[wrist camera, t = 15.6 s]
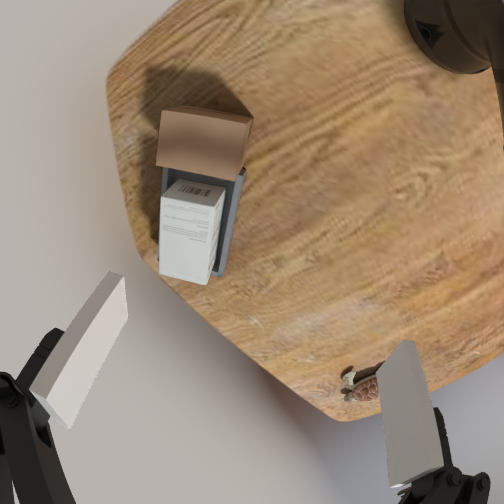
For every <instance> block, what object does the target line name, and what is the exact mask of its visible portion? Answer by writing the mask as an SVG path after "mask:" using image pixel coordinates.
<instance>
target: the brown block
mask: <svg viewBox="0 0 504 504" xmlns="http://www.w3.org/2000/svg"><path fill="white" fill-rule="evenodd" d="M253 119H254V117H250V116H245V115H240V114H235V113H230V112H224V111H219V110H213V109H207V108H201V107H194V106H187V105H180V106H176V107H172V108H168V109H165V110H162V114H161V121H160V129H159V138H158V147H157V157H156V166H161V167H167V168H172V169H177V170H182V171H187V172H192V173H197V174H202V175H207V176H212V177H216V178H221V179H225V180H230V181H234V182H235V180H236V178H237V176H238V174H239V172H240V171H241V169H242V167H243V165H244V160H245V155H246V151H247V146H248V142H249V137H250V132H251V128H252V123H253Z"/></svg>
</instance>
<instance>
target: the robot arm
mask: <svg viewBox="0 0 504 504" xmlns="http://www.w3.org/2000/svg"><path fill="white" fill-rule="evenodd" d="M404 13H405V19H406V22H407V26H408V28H409V31H410V33H411V35H412V37H413V38H414V40H415V42H416V43H417V45H418V46H419V47H420V49H421V50H422V51H423V52H424V53H425V54H426V55H427V56H428V57H429V58H430V59H431V60H432V61H433V62H435V63H436V64H437V65H439V66H440V67H442V68H444V69H446V70H448V71H451V72H454V73H458V74H478V73H481V72H483V71H485V70H487V69H488V68H489V67H490V66H491V67H492V70H493V74H494V79H495V84H496V89H497V94H498V100H499V105H500V112H501V119H502V127H503V136H504V0H405V3H404ZM503 150H504V146H503ZM127 319H128V312H127V304H126V294H125V284H124V276H123V275H119V274H116V273H113V272H108V274H107V275H106V276H105V278H104V279H103V280H102V281H101V283H100V284H99V285H98V287H97V288H96V289H95V291H94V292H93V293H92V295H91V296H90V298H89V299H88V300H87V301H86V303H85V304H84V306H83V307H82V308H81V310H80V311H79V312H78V314H77V315H76V317H75V318H74V320H73V321H72V323H71V324H70V325H69V327H68V328H67V330H66V331H65V332H64V331H62V330H60V329H58V328H54V329H53V330H51V331H50V332H49V333H47V334H46V335H45V336H44V338H43V339H42V341H41V342H40V344H39V346H38V347H37V348H36V350H35V351H34V353H33V354H32V355H31V357H30V359H29V360H28V362H27V363H26V365H25V366H24V368H23V369H22V371H21V373H20V374H19V376H18V377H17V379H16V380H14V378H13V377H12V376H11V375H10V374H8V373H6V372H0V504H15V503H14V494H13V485H12V481H13V484H14V487H15V491H16V494H17V497H18V500H19V503H20V504H76V502H75V500H74V498H73V495H72V493H71V491H70V488H69V486H68V483H67V480H66V478H65V475H64V472H63V469H62V466H61V463H60V461H59V457H58V454H57V451H56V448H55V445H54V441H53V438H52V434H51V430H50V426H49V423H48V420H49V418H50V416H51V417H52V418H53V420H54V421H55V422H57V423H59V424H61V425H62V426H64V427H66V428H68V429H71V427H72V425H73V423H74V420H75V418H76V416H77V414H78V412H79V410H80V408H81V405H82V404H83V402H84V399H85V398H86V396H87V393H88V391H89V389H90V387H91V385H92V383H93V382H94V380H95V378H96V376H97V374H98V372H99V370H100V368H101V366H102V364H103V362H104V360H105V359H106V357H107V355H108V353H109V351H110V349H111V347H112V346H113V344H114V342H115V340H116V338H117V337H118V335H119V333H120V331H121V329H122V328H123V326H124V324H125V322H126V321H127ZM376 377H377V383H378V389H379V396H380V402H381V409H382V417H383V425H384V433H385V443H386V453H387V465H388V479H389V488H392V487H400V486H404V485H406V484H409V483H411V485H412V486H411V487H408V488H406V489H404V490H402V491H400V492H399V493H398V494H397V495H401V494H403V493H405V494H404V495H403V496H401V498H402V499H401V501H400V502H399V503H398V504H487V501H488V496H489V491H490V478H489V476H488V474H486V473H485V472H481V473H479V474H477V475H475V476H469V475H464V474H462V472H461V471H460V470H459V469H458V468H456V467H454V466H453V464H452V460H451V453H450V448H449V443H448V438H447V436H446V434H447V432H446V429H445V423H444V419H443V416H442V414H441V412H440V411H439V409H438V407H436V408H433V406H432V401H431V397H430V393H429V390H428V386H427V382H426V378H425V375H424V371H423V368H422V364H421V361H420V357H419V354H418V351H417V348H416V345H415V341H408V340H402V341H401V342H400V344H399V345H398V346H397V347H396V349H395V350H394V351H393V352H392V354H391V355H390V356H389V357H388V358H387V360H386V361H385V362H384V363H383V364H382V366H381V367H380V368H379V369H378V370H377V372H376Z"/></svg>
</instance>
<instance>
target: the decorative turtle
mask: <svg viewBox="0 0 504 504" xmlns="http://www.w3.org/2000/svg"><path fill="white" fill-rule="evenodd" d="M355 374H356V372H355V371H350V372H349V373H347V374H345V375H344V376H343V378H342V382H343V385H344V386H345V387H346V388H348V389H350V390H352V392H349V393H347V394H346V395H345V396H344V401H345V402H352V401H354V400H357V401H370V400H372V399H377V398H380V396H379V389H378V383H377V377H376V374H375V375H371V376H369V377H366V378H364V379H362V380H360V381H359V382H357V383H356V384H354V383H353V378H354V376H355Z"/></svg>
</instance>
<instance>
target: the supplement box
mask: <svg viewBox="0 0 504 504" xmlns="http://www.w3.org/2000/svg"><path fill="white" fill-rule="evenodd" d="M225 196H226V187H221V186H214V185H208V184H203V183H197V182H192V181H187V180H183V179H181V178H180V179H178V180H177V181H176V182H175V183H174V184H173V185H172V186H171V187H170V188H169V189H168V190H167V191H166V192H165V193H164V194H163V195H162V196H161V203H160V233H159V273H160V274H163V275H166V276H171V277H174V278H178V279H182V280H186V281H190V282H194V283H198V284H202V285H207V282H208V279H209V276H210V274H211V271H212V268H213V265H214V262H215V260H216V255H217V248H218V241H219V234H220V227H221V220H222V214H223V208H224V202H225Z"/></svg>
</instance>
